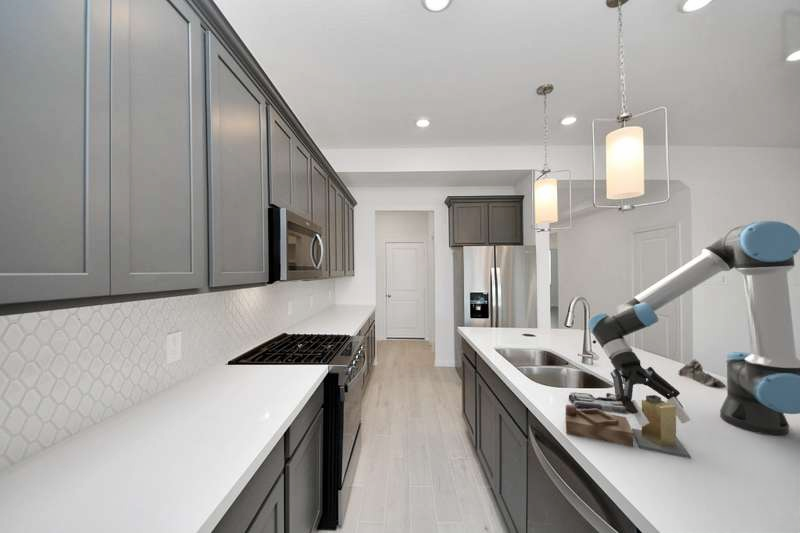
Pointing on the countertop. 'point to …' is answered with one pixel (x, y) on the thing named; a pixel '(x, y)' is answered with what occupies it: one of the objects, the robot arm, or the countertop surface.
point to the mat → (651, 446)
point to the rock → (699, 374)
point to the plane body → (598, 425)
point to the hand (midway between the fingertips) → (666, 423)
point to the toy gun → (597, 402)
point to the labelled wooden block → (659, 421)
